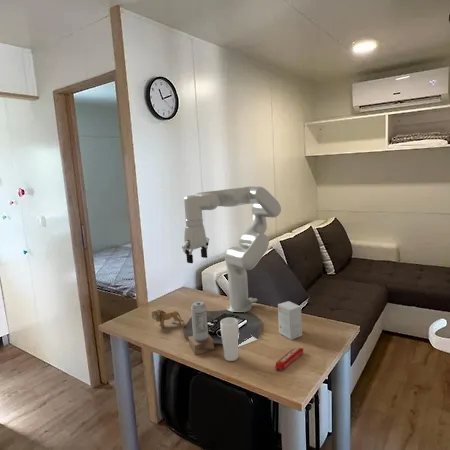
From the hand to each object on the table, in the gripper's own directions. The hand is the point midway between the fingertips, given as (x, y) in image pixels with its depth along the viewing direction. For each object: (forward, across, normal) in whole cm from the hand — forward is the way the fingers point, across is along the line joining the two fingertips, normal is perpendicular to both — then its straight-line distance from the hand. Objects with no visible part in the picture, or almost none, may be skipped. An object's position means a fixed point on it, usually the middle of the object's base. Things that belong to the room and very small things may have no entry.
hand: (197, 260), depth 165 cm
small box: (+31, -10, +40) cm, 52 cm away
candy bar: (+31, +8, +50) cm, 59 cm away
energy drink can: (+26, +18, +15) cm, 35 cm away
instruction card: (+30, +5, +25) cm, 39 cm away
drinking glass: (+31, +18, +30) cm, 46 cm away
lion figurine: (+31, +11, -12) cm, 35 cm away
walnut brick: (+30, +18, +15) cm, 38 cm away
